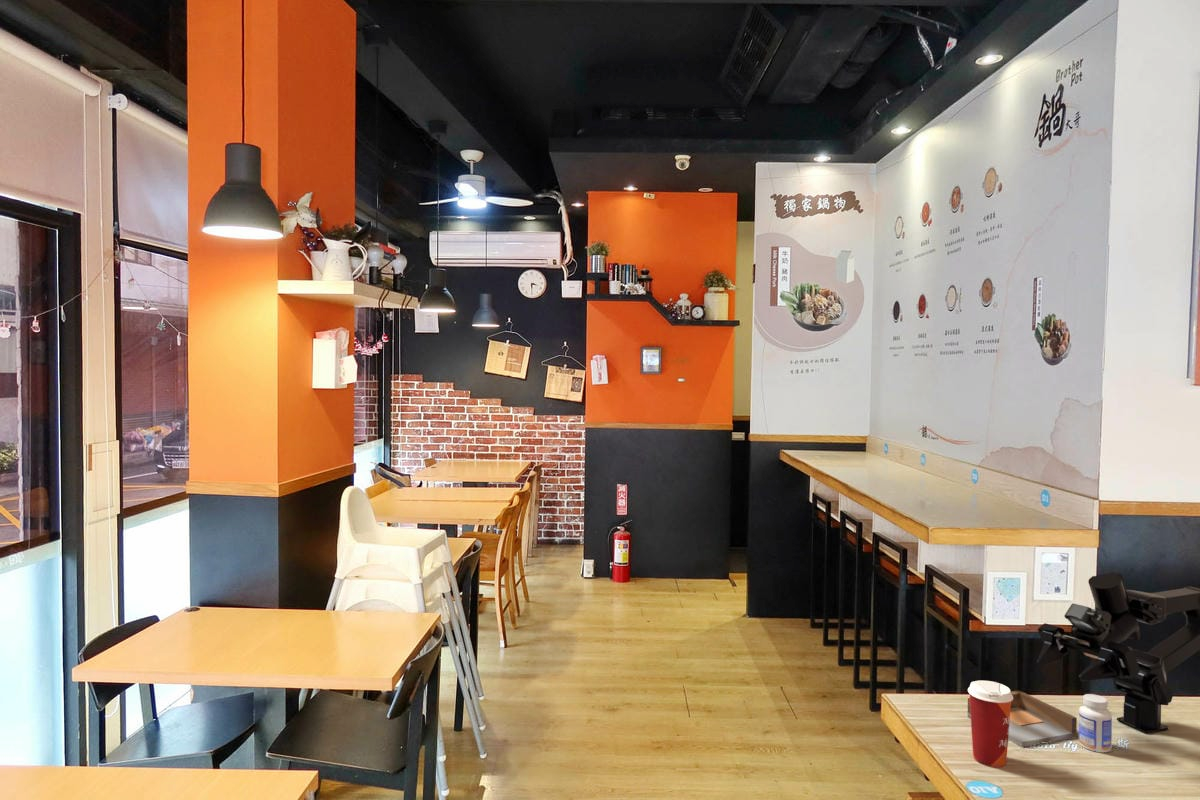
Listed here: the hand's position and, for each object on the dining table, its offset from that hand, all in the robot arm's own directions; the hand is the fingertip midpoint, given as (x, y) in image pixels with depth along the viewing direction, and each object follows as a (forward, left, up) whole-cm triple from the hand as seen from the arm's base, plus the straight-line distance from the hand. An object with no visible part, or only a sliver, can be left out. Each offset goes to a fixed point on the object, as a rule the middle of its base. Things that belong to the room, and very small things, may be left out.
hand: (1058, 671), depth 147 cm
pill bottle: (-7, +2, -15) cm, 17 cm away
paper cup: (+17, 0, -15) cm, 23 cm away
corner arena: (0, -9, -15) cm, 17 cm away
